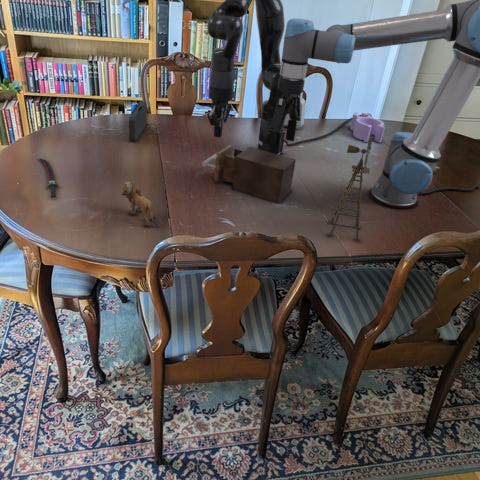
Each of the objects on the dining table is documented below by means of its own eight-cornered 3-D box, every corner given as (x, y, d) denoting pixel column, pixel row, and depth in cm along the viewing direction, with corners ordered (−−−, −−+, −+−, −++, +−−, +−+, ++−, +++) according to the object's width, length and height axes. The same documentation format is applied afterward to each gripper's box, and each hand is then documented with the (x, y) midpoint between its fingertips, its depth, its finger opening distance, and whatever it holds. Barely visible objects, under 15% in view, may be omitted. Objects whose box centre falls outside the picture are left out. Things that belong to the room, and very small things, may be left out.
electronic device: (303, 125, 218) (315, 58, 202) (300, 130, 212) (311, 61, 196) (278, 120, 221) (287, 54, 205) (273, 125, 215) (283, 56, 199)
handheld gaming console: (140, 122, 202) (140, 99, 196) (147, 123, 202) (146, 100, 196) (128, 141, 182) (127, 116, 177) (135, 142, 182) (134, 117, 177)
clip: (343, 126, 223) (346, 112, 219) (367, 127, 225) (371, 113, 221) (360, 142, 206) (364, 127, 202) (386, 142, 209) (390, 127, 205)
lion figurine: (118, 210, 138) (116, 182, 133) (132, 204, 141) (131, 177, 137) (151, 229, 130) (150, 201, 126) (165, 223, 134) (165, 195, 129)
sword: (61, 197, 141) (61, 193, 140) (50, 198, 139) (50, 194, 139) (49, 160, 164) (48, 156, 163) (39, 160, 163) (39, 157, 162)
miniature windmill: (357, 241, 135) (384, 143, 119) (328, 236, 136) (351, 138, 120) (357, 226, 143) (382, 132, 127) (330, 221, 144) (351, 127, 128)
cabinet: (232, 189, 157) (235, 156, 150) (246, 177, 165) (249, 146, 159) (278, 203, 151) (283, 170, 145) (290, 191, 159) (295, 159, 153)
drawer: (200, 175, 161) (201, 149, 156) (214, 166, 168) (215, 140, 163) (255, 192, 154) (259, 165, 149) (267, 182, 161) (271, 156, 156)
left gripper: (220, 77, 153) (217, 128, 163) (200, 85, 143) (197, 139, 152) (241, 82, 151) (236, 133, 160) (221, 90, 141) (218, 145, 150)
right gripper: (295, 68, 147) (285, 132, 158) (263, 83, 127) (254, 155, 139) (317, 72, 144) (306, 138, 156) (288, 88, 125) (277, 162, 136)
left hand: (217, 136), depth 156 cm, fingers closed
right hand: (281, 146), depth 147 cm, fingers open, 13 cm apart
